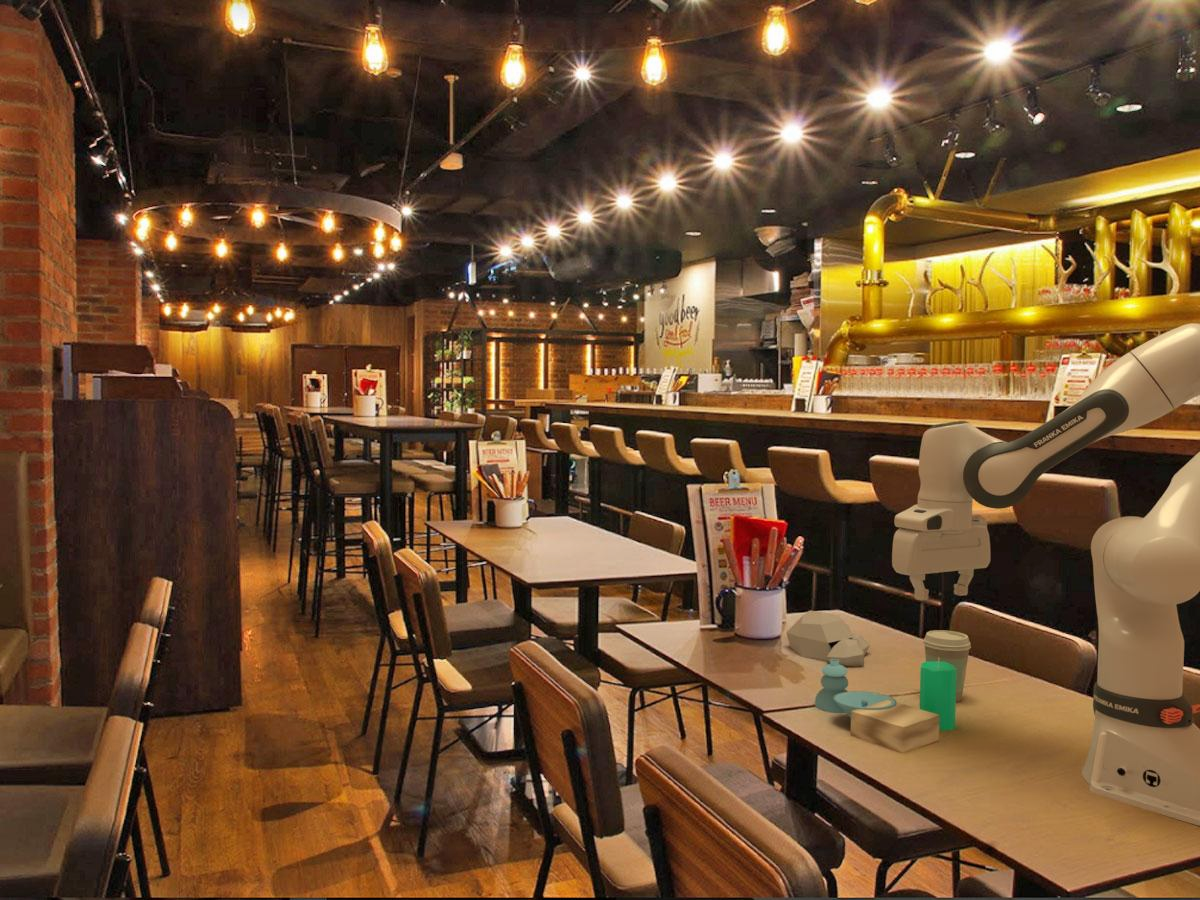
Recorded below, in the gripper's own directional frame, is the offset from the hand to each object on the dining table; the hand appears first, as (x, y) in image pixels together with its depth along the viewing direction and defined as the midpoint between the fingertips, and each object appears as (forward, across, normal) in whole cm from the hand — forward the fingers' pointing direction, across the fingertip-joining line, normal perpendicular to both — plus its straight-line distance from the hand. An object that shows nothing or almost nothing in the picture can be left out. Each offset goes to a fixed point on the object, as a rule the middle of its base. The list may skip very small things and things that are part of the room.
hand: (941, 597), depth 170 cm
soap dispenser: (+22, +11, -9) cm, 27 cm away
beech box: (+23, +12, +2) cm, 26 cm away
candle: (+23, 0, 0) cm, 23 cm away
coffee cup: (+23, -14, -11) cm, 29 cm away
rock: (+23, -15, -43) cm, 51 cm away
